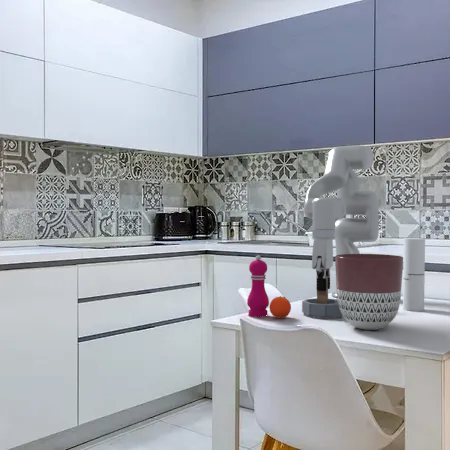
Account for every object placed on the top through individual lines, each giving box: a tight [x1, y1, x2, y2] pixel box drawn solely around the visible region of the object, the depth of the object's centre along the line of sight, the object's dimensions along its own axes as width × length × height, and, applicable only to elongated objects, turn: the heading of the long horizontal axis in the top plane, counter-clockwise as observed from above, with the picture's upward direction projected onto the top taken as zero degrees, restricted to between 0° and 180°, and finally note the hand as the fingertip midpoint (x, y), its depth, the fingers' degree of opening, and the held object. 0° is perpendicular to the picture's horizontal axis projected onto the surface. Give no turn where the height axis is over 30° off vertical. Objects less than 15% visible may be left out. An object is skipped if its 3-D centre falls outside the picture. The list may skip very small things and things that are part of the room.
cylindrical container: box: [402, 237, 426, 312], centre depth 205 cm, size 7×7×25 cm
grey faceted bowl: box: [301, 297, 343, 319], centre depth 194 cm, size 13×13×4 cm
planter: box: [334, 253, 404, 331], centre depth 172 cm, size 20×20×21 cm
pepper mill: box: [246, 255, 270, 318], centre depth 192 cm, size 7×7×20 cm
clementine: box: [269, 295, 292, 319], centre depth 189 cm, size 8×7×7 cm
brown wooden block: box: [316, 276, 329, 304], centre depth 194 cm, size 3×3×12 cm
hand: (323, 289), depth 194 cm, fingers open, 4 cm apart
